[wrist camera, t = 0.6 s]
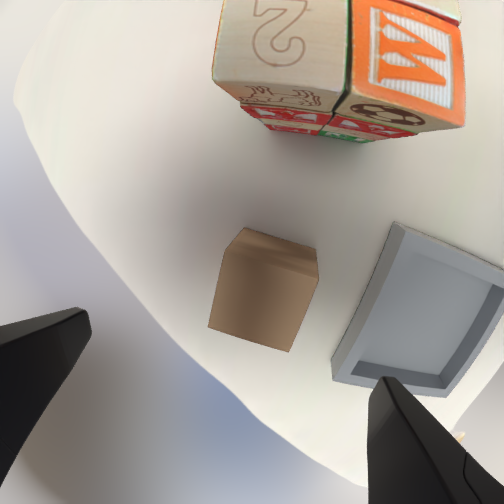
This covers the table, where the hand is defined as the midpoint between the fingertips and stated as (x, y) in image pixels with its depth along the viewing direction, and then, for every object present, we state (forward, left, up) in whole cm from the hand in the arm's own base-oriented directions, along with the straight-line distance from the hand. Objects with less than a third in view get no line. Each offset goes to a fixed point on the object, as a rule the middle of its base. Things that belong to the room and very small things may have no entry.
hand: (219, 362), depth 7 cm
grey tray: (-14, +2, -12) cm, 18 cm away
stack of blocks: (0, -18, -13) cm, 22 cm away
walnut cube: (-1, +2, -13) cm, 13 cm away
